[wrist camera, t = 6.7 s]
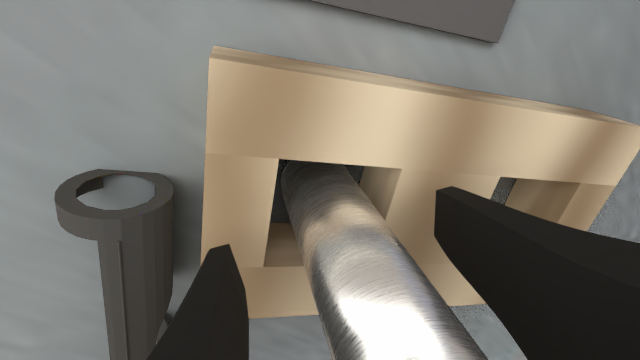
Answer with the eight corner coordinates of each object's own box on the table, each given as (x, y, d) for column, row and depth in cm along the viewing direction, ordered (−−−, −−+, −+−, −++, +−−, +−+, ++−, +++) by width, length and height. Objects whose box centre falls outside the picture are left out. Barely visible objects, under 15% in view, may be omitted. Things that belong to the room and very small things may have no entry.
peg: (343, 143, 14) (520, 350, 6) (346, 201, 16) (493, 435, 7) (274, 157, 14) (356, 407, 5) (285, 215, 15) (363, 485, 7)
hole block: (587, 110, 17) (652, 129, 14) (503, 263, 21) (541, 300, 18) (214, 45, 11) (209, 57, 9) (203, 269, 16) (198, 321, 13)
